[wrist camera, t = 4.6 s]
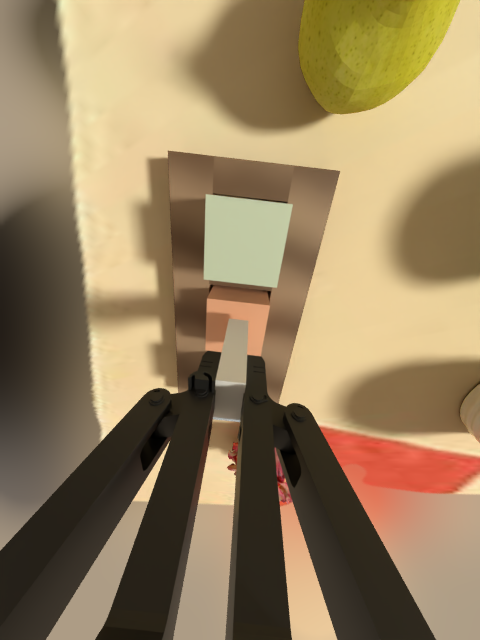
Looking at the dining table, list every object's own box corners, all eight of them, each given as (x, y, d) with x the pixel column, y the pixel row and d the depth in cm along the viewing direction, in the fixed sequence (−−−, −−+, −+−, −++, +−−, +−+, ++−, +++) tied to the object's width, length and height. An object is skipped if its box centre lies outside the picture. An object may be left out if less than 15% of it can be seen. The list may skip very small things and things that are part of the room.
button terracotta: (214, 283, 20) (206, 298, 17) (266, 289, 20) (270, 305, 17) (212, 328, 22) (205, 350, 19) (259, 333, 22) (260, 356, 19)
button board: (176, 157, 16) (167, 150, 15) (330, 175, 16) (340, 171, 15) (183, 386, 27) (178, 398, 26) (275, 396, 27) (276, 409, 26)
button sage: (215, 198, 16) (205, 194, 12) (283, 205, 16) (292, 204, 12) (213, 265, 18) (203, 279, 14) (271, 272, 18) (276, 287, 14)
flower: (276, 412, 26) (240, 478, 22) (323, 460, 27) (298, 532, 23) (239, 410, 34) (208, 458, 30) (277, 447, 35) (252, 499, 31)
